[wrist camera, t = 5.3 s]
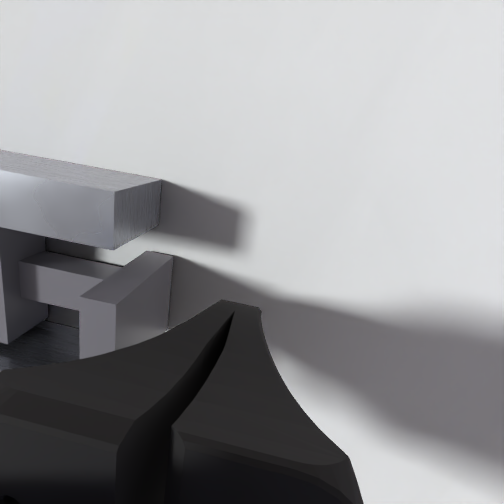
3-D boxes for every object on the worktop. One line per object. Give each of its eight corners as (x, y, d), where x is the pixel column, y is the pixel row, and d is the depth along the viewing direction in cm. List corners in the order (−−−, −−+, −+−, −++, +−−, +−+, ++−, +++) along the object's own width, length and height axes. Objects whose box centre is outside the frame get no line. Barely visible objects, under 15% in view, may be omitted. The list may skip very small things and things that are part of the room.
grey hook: (175, 237, 12) (116, 279, 8) (162, 383, 14) (111, 468, 10) (-43, 194, 13) (-182, 215, 9) (-25, 337, 15) (-133, 402, 11)
